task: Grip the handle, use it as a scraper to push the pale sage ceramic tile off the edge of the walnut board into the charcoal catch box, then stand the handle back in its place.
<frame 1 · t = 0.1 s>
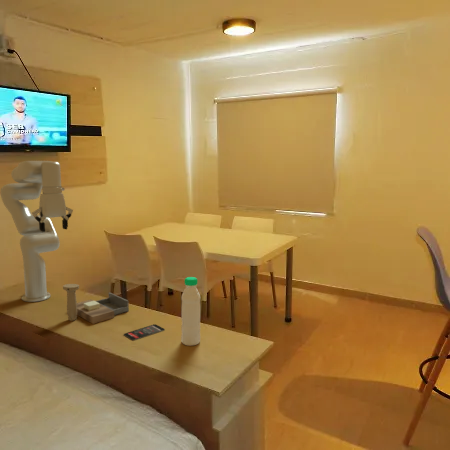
hand: (54, 230, 178), 37 cm above the table, tool pointing down, fingers open, 9 cm apart
catch box: (111, 309, 188), on the table
tile: (91, 307, 181), point 3 cm above the table, touching board
water bottle: (190, 342, 155), on the table
board: (92, 314, 181), on the table
smartphone: (144, 333, 164), on the table
handle: (72, 320, 175), on the table
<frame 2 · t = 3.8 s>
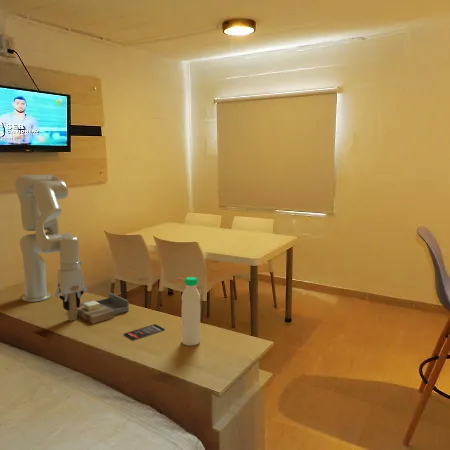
hand: (71, 307, 174), 5 cm above the table, tool pointing down, fingers closed on handle, 4 cm apart
handle: (72, 320, 175), on the table, touching gripper
everything else where it was.
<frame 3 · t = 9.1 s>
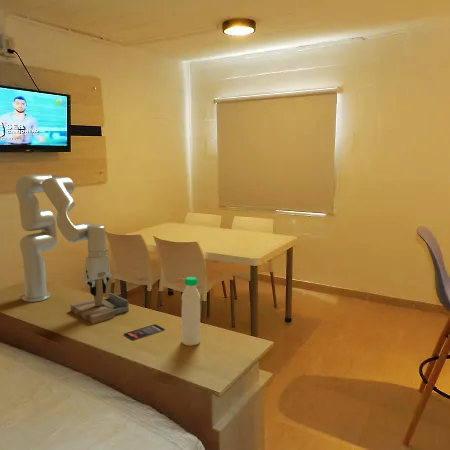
hand: (98, 293, 182), 9 cm above the table, tool pointing down, fingers closed on handle, 4 cm apart
tile: (105, 306, 186), point 2 cm above the table, tilted 40°, touching catch box, handle
handle: (98, 305, 183), point 3 cm above the table, touching gripper, tile
everything else where it was.
when the fingers open (6 cm above the table, at t = 15.0 s): handle stays where it is, on the table.
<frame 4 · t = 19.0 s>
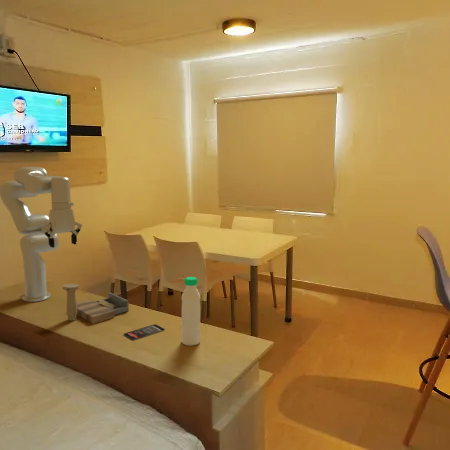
hand: (63, 245, 178), 30 cm above the table, tool pointing down, fingers open, 9 cm apart
tile: (105, 306, 186), point 2 cm above the table, tilted 36°, touching catch box
handle: (72, 320, 175), on the table
everything else where it was.
at the end: tile inside the target area (2.8 cm from its centre), point 1.9 cm above the table; handle inside the target area (0.1 cm from its centre), on the table; handle tilted 0° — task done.
